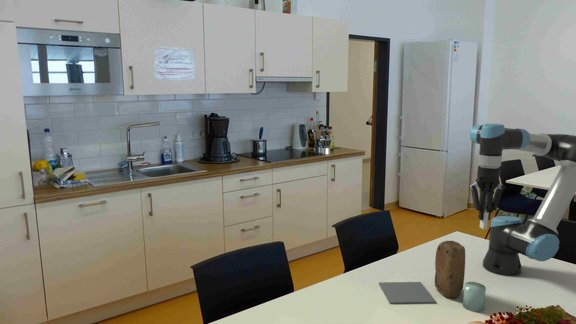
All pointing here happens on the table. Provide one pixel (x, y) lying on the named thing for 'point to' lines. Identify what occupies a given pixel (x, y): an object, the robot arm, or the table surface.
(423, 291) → the mat
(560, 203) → the robot arm
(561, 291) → the table surface
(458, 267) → the brown sandstone rock
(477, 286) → the pale blue rounded cylinder
